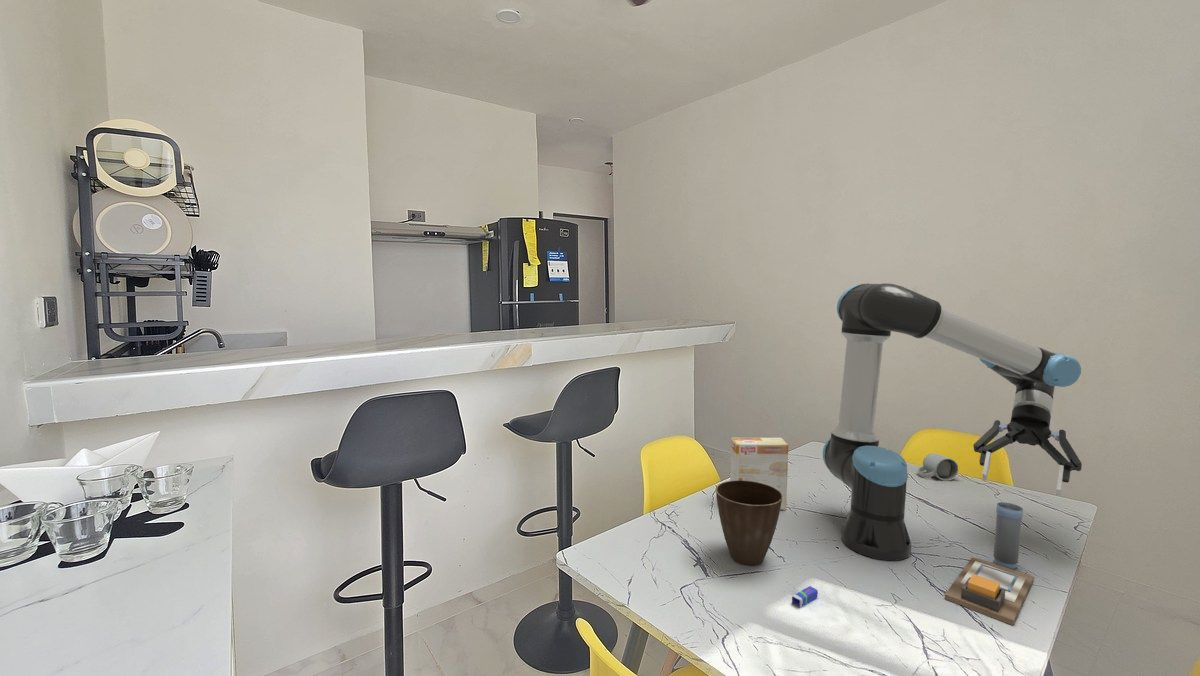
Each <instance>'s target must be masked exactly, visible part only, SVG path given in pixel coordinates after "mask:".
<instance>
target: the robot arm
mask: <svg viewBox="0 0 1200 676" xmlns="http://www.w3.org/2000/svg"><path fill="white" fill-rule="evenodd" d="M836 313H837V316H838V318H839V319H840V321H841V322H842V323H841V333H840V334H842V335H843V337H844V338H845V339H846V346H845V353H844V354H845V355H844V365H843V374H842V375H843V376H842V385H841V393H840V394H841V395H840V404H839V405H840V406H839V413H838V414H839V415H838V423H837V424H838V425H837V426H836V427H834V428H832V429H831V434H830V438H829V439H828V440H827V441H825V443H824V446H823V448H822V460H823V462H824V465H825V466H826V468H827V469H828V471H829V472H830V473H831V474H832V475H833V476H834V477H835V478H837V479H838V480H839V481H841V482H842V483H843V484H844V485H845V486H847V487H848V488H849V489H851V492H850V493H851V495H850V509H849V512H848V514H847V517H846V518H845V521H844V524H843V526H842V529H841V537H840V539H841V541H842V543H843V544H844V545H845V546H846V547H847V548H849V550H850V549H851V550H852V551H853V552H856V553H858V554H860V555H863V556H866V557H868V558H873V559H876V560H882V561H901V560H906V559H907V558H909V557H910V556H911V553H912V552H911V550H912V542H911V539H910V536H909V532H908V529H907V526H906V523H905V513H906V512H905V509H906V496H907V485H908V484H907V482H908V481H907V480H908V478H909V474H908V464H907V461H906V460H905V458H904V456H902V455H901V454H899V453H898V452H896V451H894V450H892V449H886V448H885V447H882V446H879V444H880V437H879V436H878V435H877V434H876V433H875V431H874V430H875V429H874V428H875V422H876V421H875V420H876V419H875V418H876V412H877V411H876V409H877V401H878V394H879V393H878V390H879V382H880V374H881V364H882V356H883V355H882V354H883V345H884V342H886V340H888V339H890V338H891V334H892V332H893V333H900V334H904V335H908V336H911V337H912V338H916V339H924V338H927V339H930V340H931V341H934V342H937V343H940V344H942V345H946V346H948V347H951V348H952V349H955V350H957V351H960V352H962V353H965V354H967V355H970V356H972V357H975V358H977V359H979V361H980V362H981V363H983V365H985V366H986V367H987V368H988V369H990V370H992V371H993V372H994V373H996V374H997V375H999V376H1001V377H1002V378H1004V380H1006V381H1008V382H1010V384H1012V385H1014V386H1015V387H1016V388H1015V395H1014V400H1013V405H1012V411H1011V417H1010V421H1009V423H1008V424H1007V423H1003V422H1001V421H1000V420H998V419H995V420H994V422H993V425H992V427H990V429H988V430H987V431H986V432H984V434H983V435H982V436H981V437H979V439H977V440H976V441H975V442H974V443H973V445H972V446H973V451H974V452H975V453H978V454H980V455H979V465H980V466H982V468H983V469H982V473H981V474H982V479H983V480H985V481H987V480H988V475H989V471H990V463H991V460H992V454H993V453H995V452H997V451H999V450H1001V449H1002V448H1004V447H1006V446H1008V445H1011V444H1014V443H1015V442H1017V443H1018V444H1022V445H1026V444H1027V445H1029V446H1033V447H1035V446H1037V445H1038V446H1039V447H1040V448H1041V449H1042V450H1043V451H1045V452H1046V453H1047V454H1048V455H1049V456H1050V457H1051V458H1052V459H1053V461H1055V463H1057V465H1059V467H1058V474H1057V481H1056V488H1055V489H1056V493H1055V494H1056V496H1059V497H1061V496H1062V487H1063V483H1069V482H1070V478H1071V473H1072V471H1077V472H1080V471H1082V467H1083V463H1082V462H1081V459H1080V458H1079V457H1078V455H1077V453H1076V452H1075V450H1074V448H1073V447H1072V444H1071V443H1070V441H1069V440H1068V439H1067V434H1066V433H1067V432H1066V430H1065V429H1059V431H1056V430H1051V429H1050V425H1051V418H1052V416H1051V415H1052V411H1053V403H1054V394H1055V387H1061V388H1065V387H1070V386H1072V385H1074V384H1075V383H1076V382H1077V381H1078V380H1079V378H1080V377H1081V374H1082V366H1081V364H1080V362H1079V361H1078V360H1077V359H1076V358H1075V357H1074V356H1071V355H1067V354H1064V353H1055V352H1052V351H1049V350H1046V349H1044V348H1042V347H1039V346H1036V345H1035V344H1032V343H1029V342H1026V341H1024V340H1022V339H1019V338H1017V337H1014V336H1012V335H1009V334H1007V333H1005V332H1002V331H999V330H997V329H995V328H992V327H990V326H986V325H985V324H982V323H979V322H977V321H975V320H973V319H969V318H967V317H965V316H962V315H960V314H957V313H955V312H952V311H950V310H947V309H946V308H943V306H942V304H941V302H939V301H937V300H934V299H932V298H929V297H927V296H925V295H923V294H920V293H918V292H916V291H914V290H911V289H909V288H907V287H904V286H901V285H898V284H895V283H886V282H885V283H870V282H869V283H868V282H867V283H861V284H857V285H852V286H850V287H849V288H847V289H846V290H845V291H844V292H842V294H841V295H840V297H839V298H838V300H837V305H836ZM1004 430H1007V433H1005V435H1003V436H1001V437H999V438H998V439H995V440H994V438H996V437H997V436H998V435H999V433H1002V432H1003V431H1004ZM1051 437H1052V438H1053V439H1054V441H1056V442H1058V443H1059V446H1060V447H1061V449H1062V450H1063V452H1064V454H1065V456H1066V457H1065V456H1064V455H1063V454H1062V453H1061V452H1060V451H1059V450H1058V449H1057V448H1056V447H1055V446H1054V445H1053V444H1052V443H1051V442H1050V440H1049V439H1050V438H1051ZM993 440H994V441H993ZM991 441H992V442H991Z"/></svg>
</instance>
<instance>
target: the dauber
mask: <svg viewBox="0 0 1200 676" xmlns="http://www.w3.org/2000/svg"><path fill="white" fill-rule="evenodd" d="M1023 512H1024V508H1023V507H1021V506H1019V505H1018V504H1014V503H1010V502H1004V501H1003V502H1002V501H1000V502H997V503H996V518H995V519H996V521H995V531H994V532H995V533H994V543H993V564H996V565H999V566H1002V567H1005V568H1009V569H1012V570H1015V571H1016V569H1017V564H1018V563H1019V555H1020V554H1019V553H1020V542H1021V531H1022V530H1021V529H1022V519H1023V516H1024V515H1023V514H1024V513H1023Z"/></svg>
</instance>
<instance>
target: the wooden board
mask: <svg viewBox="0 0 1200 676" xmlns="http://www.w3.org/2000/svg"><path fill="white" fill-rule="evenodd" d="M973 574H975V575H978V576H981V577H983V578H986V579H989V580H992V581H995V582H998V583H1000V590H999V594H998V596H997V598H996V600H995V599H992V598H989V597H987V596H984V595H981V594H978V593H976V592H973V591H970V590H968V589H967V587H968V581H969V580H970V578H971V577H972V575H973ZM1034 579H1035V577H1034V576H1033V575H1029V574H1027V573H1023V572H1021V571H1018V570H1016V569H1015V570H1012V569H1009V568H1005V567H1002V566H999V565H996V564H995V563H994V562H993V563H992V562H990V561H987V560H984V559H981V558H977V557H974V556H971V558H970V559H969V560H968V562H967V564H966V565H965V566H964V567H963V568H962V570H961V571H960V573H959V574H958V576H957V577H956V579H955V580H954V581H953V583H951V585H950V587H949V588H948V589H947V591H946V592H945V594H944V599H945V600H946V601H949V602H952V603H954V604H955V605H959V606H961V605H962V607H965V608H967V609H970V610H972V611H975V612H978V614H979V613H980V614H982V615H985V616H987V617H990V618H993V619H995V620H997V621H1000V622H1003V623H1005V624H1009V625H1010V626H1014V624H1015V623H1016V620H1017V618H1018V616H1019V614H1020V612H1021V610H1020V609H1022V607H1023V604H1024V602H1025V601H1026V598H1027V596H1028V594H1029V591H1030V589H1031V587H1032V585H1033V583H1034Z"/></svg>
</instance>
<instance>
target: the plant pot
mask: <svg viewBox="0 0 1200 676" xmlns="http://www.w3.org/2000/svg"><path fill="white" fill-rule="evenodd" d="M715 494H716V502H717V509H718V515H719V520H720V525H721V529H722V533H723V537H724V540H725V543H726V546H727V549H728V552H729V555H730V557H731V559H732V560H733V561H734V562H737V563H739V564H741V565H747V566H756V565H757V566H758V565H760V564H762V563H763V562H764V559H765V557H766V555H767V553H768V551H769V549H770V547H771V543H772V540H773V539H774V538H773V537H774V535H775V532H776V529H777V525H778V521H779V516H780V513H781V510H780V507H781V502H782V494H781V492H780V491H778V490H777V489H775V488H773V487H771V486H769V485H766V484H762V483H758V482H753V481H742V480H736V481H730V480H728V481H724V482H722V483H720V484H717V486H716V488H715Z"/></svg>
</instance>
